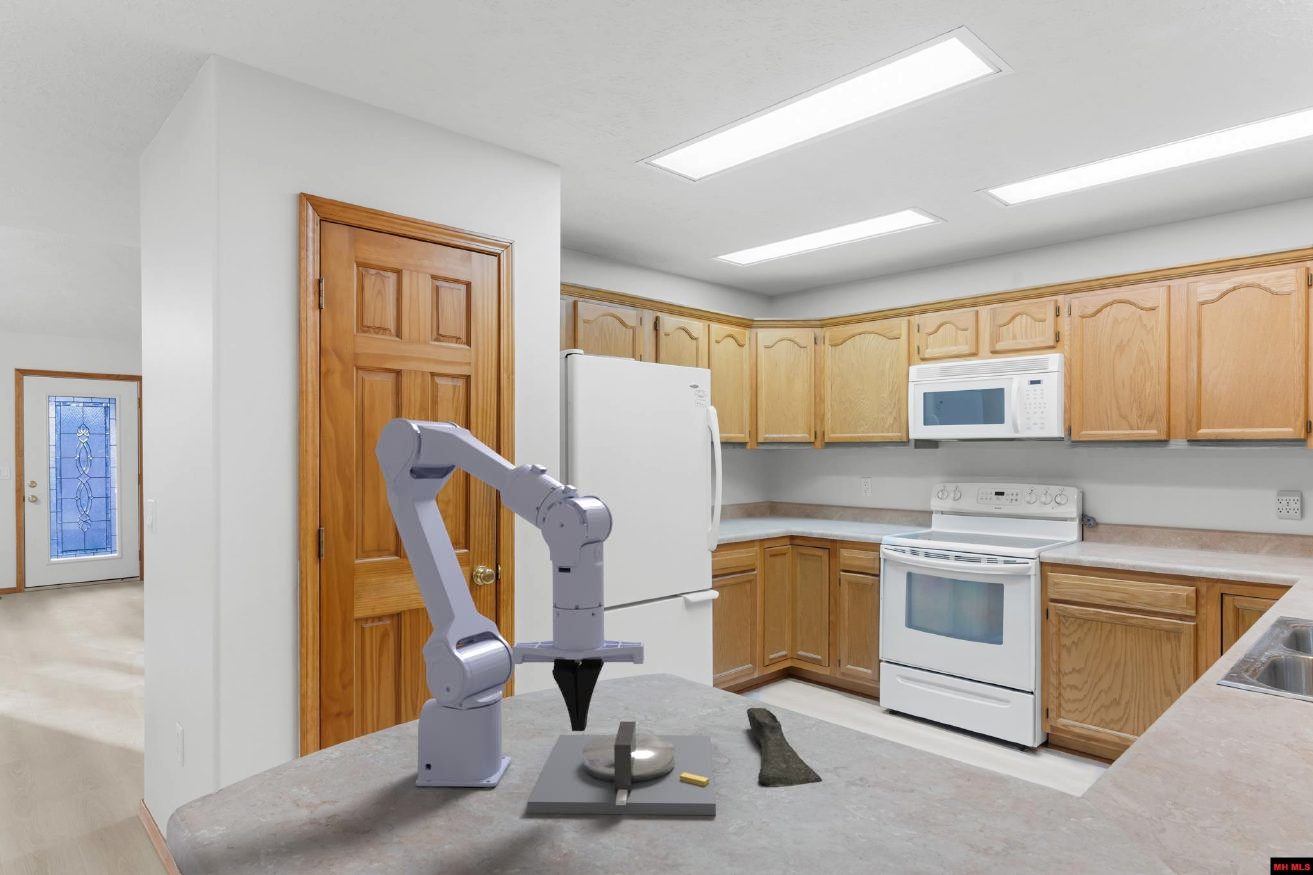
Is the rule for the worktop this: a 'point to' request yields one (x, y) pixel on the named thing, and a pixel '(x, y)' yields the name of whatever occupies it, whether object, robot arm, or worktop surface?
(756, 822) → the worktop surface
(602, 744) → the dial
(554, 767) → the board
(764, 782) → the tool
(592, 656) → the robot arm
